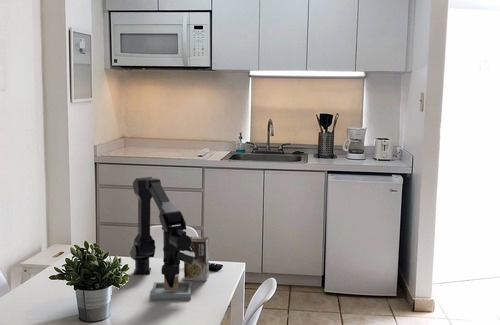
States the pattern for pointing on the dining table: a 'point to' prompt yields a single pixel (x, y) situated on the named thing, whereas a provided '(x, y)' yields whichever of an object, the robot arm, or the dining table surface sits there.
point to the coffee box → (198, 260)
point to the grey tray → (171, 292)
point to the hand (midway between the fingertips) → (171, 284)
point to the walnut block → (175, 285)
